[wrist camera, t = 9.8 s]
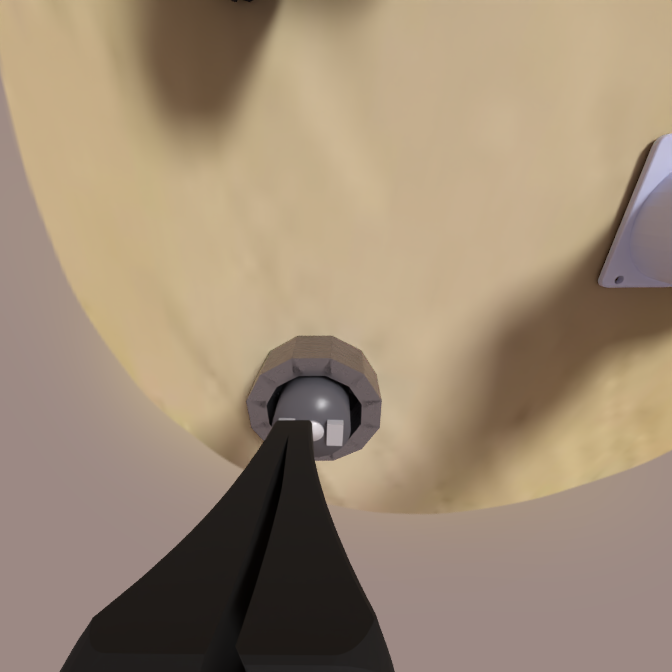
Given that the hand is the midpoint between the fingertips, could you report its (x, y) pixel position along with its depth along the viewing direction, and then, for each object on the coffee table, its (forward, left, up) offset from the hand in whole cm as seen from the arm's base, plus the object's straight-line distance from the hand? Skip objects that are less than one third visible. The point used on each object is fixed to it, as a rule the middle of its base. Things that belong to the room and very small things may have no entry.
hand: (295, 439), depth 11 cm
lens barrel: (0, +5, -10) cm, 11 cm away
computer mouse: (0, +5, -9) cm, 11 cm away
